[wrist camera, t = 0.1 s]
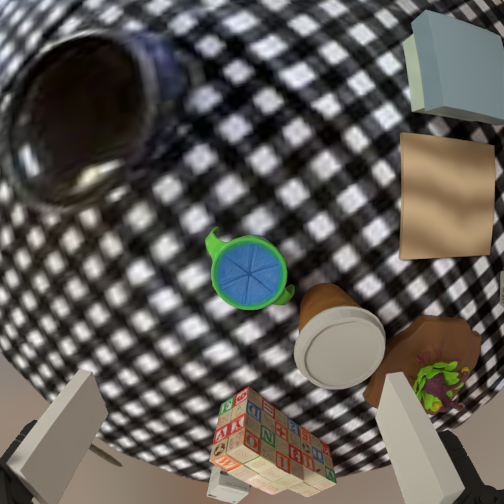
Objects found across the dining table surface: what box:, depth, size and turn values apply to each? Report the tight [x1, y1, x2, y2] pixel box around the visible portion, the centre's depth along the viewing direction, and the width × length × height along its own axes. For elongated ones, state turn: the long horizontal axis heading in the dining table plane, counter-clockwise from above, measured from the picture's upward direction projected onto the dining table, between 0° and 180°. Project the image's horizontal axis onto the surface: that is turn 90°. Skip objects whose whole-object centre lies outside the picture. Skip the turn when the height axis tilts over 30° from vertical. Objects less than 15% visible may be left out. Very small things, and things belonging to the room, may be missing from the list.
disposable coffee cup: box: [294, 283, 386, 389], centre depth 34 cm, size 10×10×12 cm
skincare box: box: [207, 465, 250, 504], centre depth 46 cm, size 6×6×7 cm
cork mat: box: [399, 133, 495, 260], centre depth 35 cm, size 16×16×1 cm
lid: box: [411, 10, 504, 125], centre depth 24 cm, size 12×12×4 cm
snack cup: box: [205, 227, 295, 310], centre depth 35 cm, size 11×8×7 cm
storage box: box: [403, 34, 475, 121], centre depth 27 cm, size 10×10×8 cm
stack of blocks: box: [210, 386, 337, 497], centre depth 40 cm, size 21×6×12 cm, turn 43°
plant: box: [363, 315, 482, 415], centre depth 37 cm, size 20×20×11 cm
